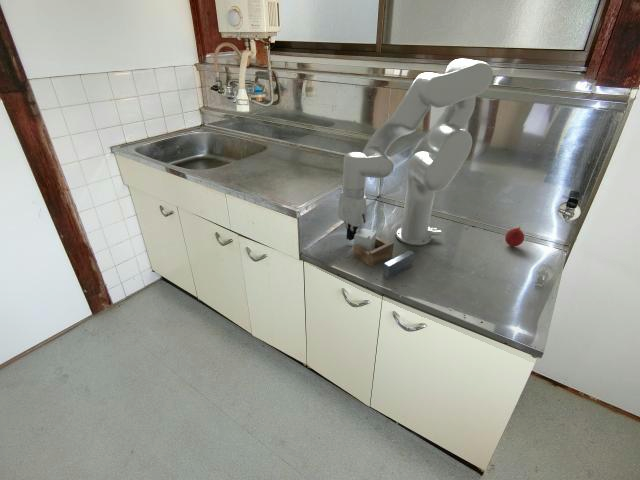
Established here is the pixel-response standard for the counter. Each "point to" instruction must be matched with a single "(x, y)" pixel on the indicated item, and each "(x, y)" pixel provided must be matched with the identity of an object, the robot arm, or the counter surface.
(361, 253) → the caddy
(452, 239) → the counter surface
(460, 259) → the counter surface
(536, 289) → the counter surface
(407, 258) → the backstop rail
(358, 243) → the skincare box
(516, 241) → the onion
